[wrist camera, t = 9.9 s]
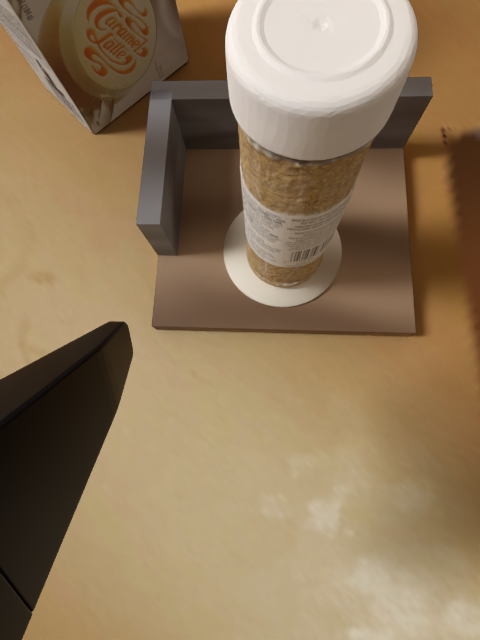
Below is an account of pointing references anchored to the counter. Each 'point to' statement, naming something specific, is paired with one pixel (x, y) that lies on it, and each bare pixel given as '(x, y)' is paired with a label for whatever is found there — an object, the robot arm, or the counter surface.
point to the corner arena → (230, 237)
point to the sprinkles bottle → (309, 116)
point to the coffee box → (97, 50)
